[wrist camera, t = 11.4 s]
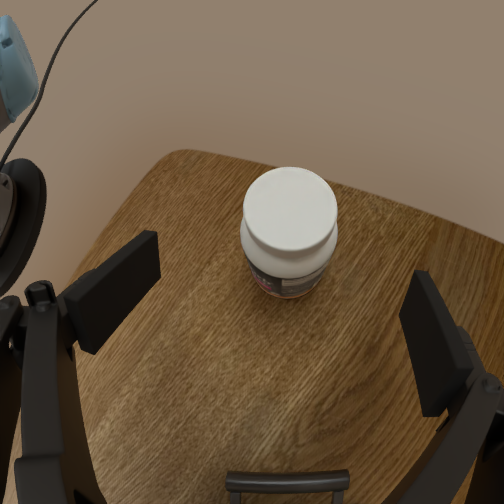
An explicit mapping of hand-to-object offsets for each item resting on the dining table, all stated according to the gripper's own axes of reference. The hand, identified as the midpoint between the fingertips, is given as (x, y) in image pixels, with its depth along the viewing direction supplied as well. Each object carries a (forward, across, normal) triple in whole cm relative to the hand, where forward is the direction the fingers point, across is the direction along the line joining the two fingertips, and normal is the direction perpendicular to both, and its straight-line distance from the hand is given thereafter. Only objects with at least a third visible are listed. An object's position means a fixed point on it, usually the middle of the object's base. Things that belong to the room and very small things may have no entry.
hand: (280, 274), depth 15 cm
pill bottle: (+9, 0, -4) cm, 10 cm away
